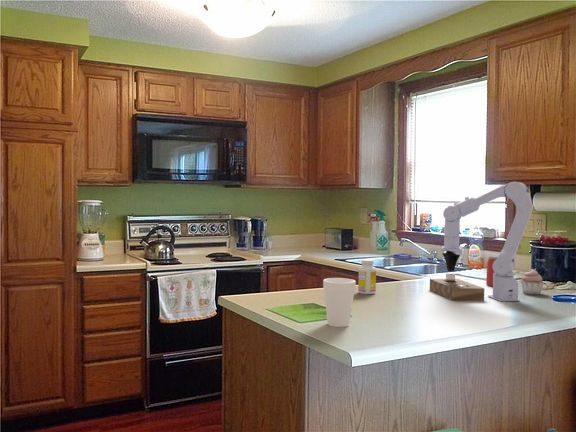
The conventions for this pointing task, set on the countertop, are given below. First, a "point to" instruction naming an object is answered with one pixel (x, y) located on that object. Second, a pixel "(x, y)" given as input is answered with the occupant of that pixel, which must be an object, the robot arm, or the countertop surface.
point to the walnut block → (457, 290)
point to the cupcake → (532, 283)
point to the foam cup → (339, 300)
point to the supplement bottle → (367, 277)
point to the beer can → (490, 271)
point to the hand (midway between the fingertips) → (450, 271)
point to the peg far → (450, 277)
